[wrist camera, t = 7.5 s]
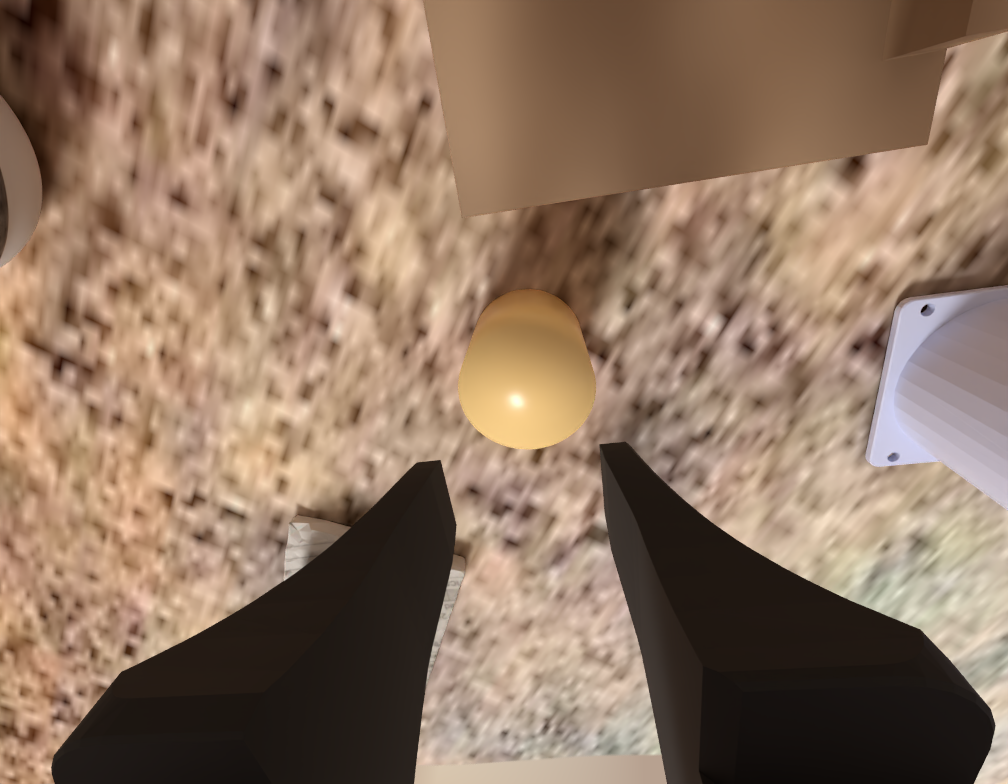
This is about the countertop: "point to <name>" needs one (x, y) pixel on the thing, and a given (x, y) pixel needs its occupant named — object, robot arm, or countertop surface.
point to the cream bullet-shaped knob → (527, 371)
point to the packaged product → (319, 534)
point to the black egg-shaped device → (17, 186)
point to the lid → (681, 88)
